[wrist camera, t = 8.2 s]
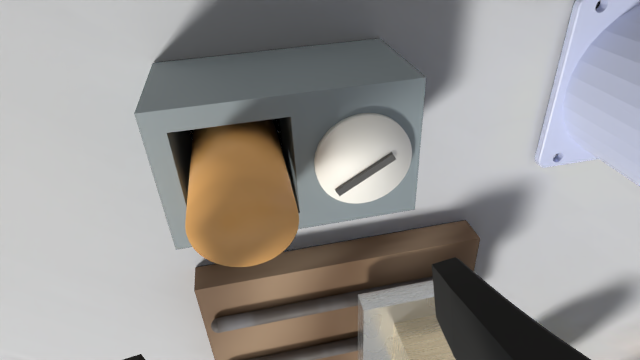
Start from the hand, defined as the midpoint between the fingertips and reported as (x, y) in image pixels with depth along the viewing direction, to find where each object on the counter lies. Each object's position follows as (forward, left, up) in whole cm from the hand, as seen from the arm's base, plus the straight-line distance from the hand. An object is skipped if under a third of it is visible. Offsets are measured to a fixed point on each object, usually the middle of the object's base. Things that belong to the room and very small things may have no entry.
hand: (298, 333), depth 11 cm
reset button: (+1, -2, -7) cm, 8 cm away
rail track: (-3, +10, -10) cm, 14 cm away
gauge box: (-1, -2, -10) cm, 10 cm away
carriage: (-6, +10, -7) cm, 14 cm away
